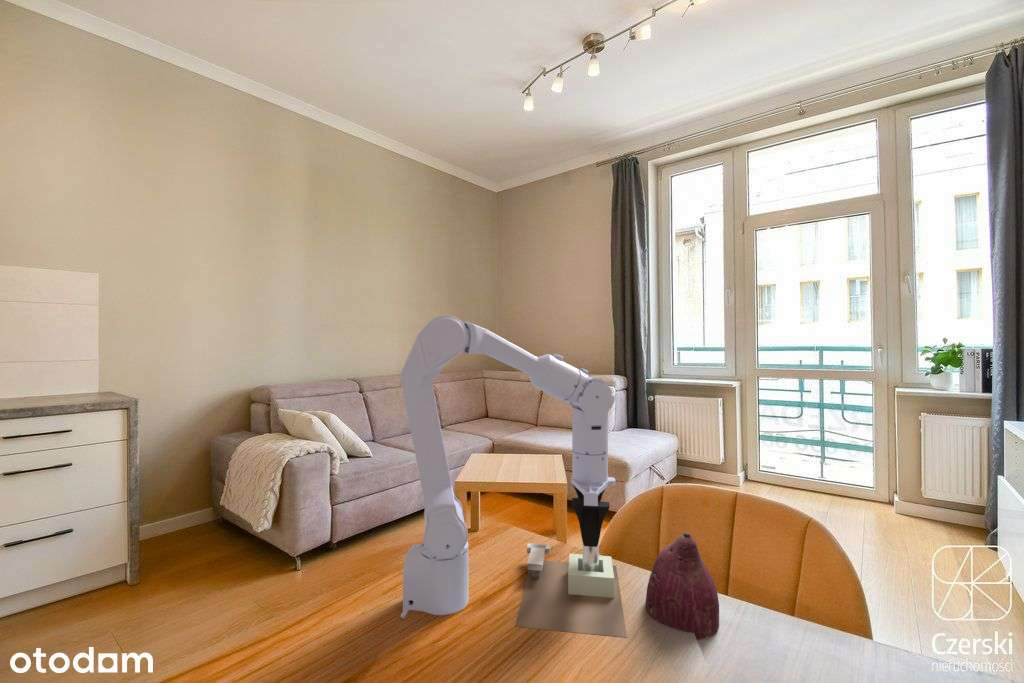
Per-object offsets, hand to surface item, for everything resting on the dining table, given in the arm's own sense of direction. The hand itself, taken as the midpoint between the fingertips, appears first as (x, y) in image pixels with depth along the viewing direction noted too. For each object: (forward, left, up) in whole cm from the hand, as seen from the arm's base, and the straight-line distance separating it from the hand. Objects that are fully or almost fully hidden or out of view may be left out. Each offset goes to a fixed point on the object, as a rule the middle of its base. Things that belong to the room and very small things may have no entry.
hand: (590, 534), depth 71 cm
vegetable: (+13, -5, -9) cm, 17 cm away
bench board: (-3, -3, -9) cm, 10 cm away
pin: (0, 0, -8) cm, 8 cm away
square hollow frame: (0, 0, -9) cm, 9 cm away
